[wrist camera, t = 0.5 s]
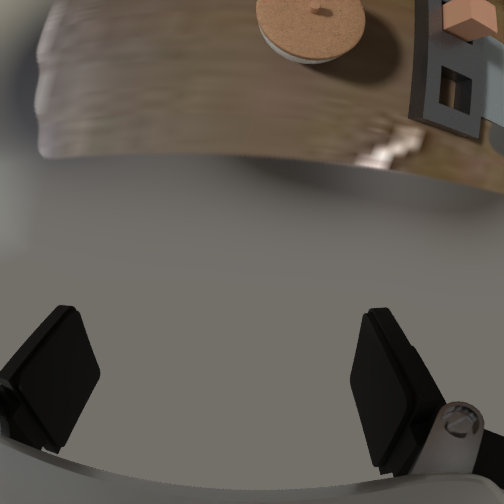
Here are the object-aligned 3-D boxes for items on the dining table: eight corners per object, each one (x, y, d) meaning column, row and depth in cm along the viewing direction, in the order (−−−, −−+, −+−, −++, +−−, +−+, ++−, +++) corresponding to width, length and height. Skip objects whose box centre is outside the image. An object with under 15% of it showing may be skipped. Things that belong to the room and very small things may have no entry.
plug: (430, 12, 27) (469, -9, 18) (453, 22, 27) (494, 6, 18) (430, 35, 28) (471, 17, 19) (454, 45, 28) (497, 33, 19)
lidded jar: (343, 79, 32) (369, 65, 23) (252, 67, 32) (250, 47, 23) (347, 4, 28) (371, -26, 19) (260, -8, 28) (260, -44, 19)
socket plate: (414, -11, 26) (427, -21, 22) (466, 13, 26) (481, 7, 22) (408, 118, 33) (422, 118, 29) (461, 136, 33) (478, 138, 30)
